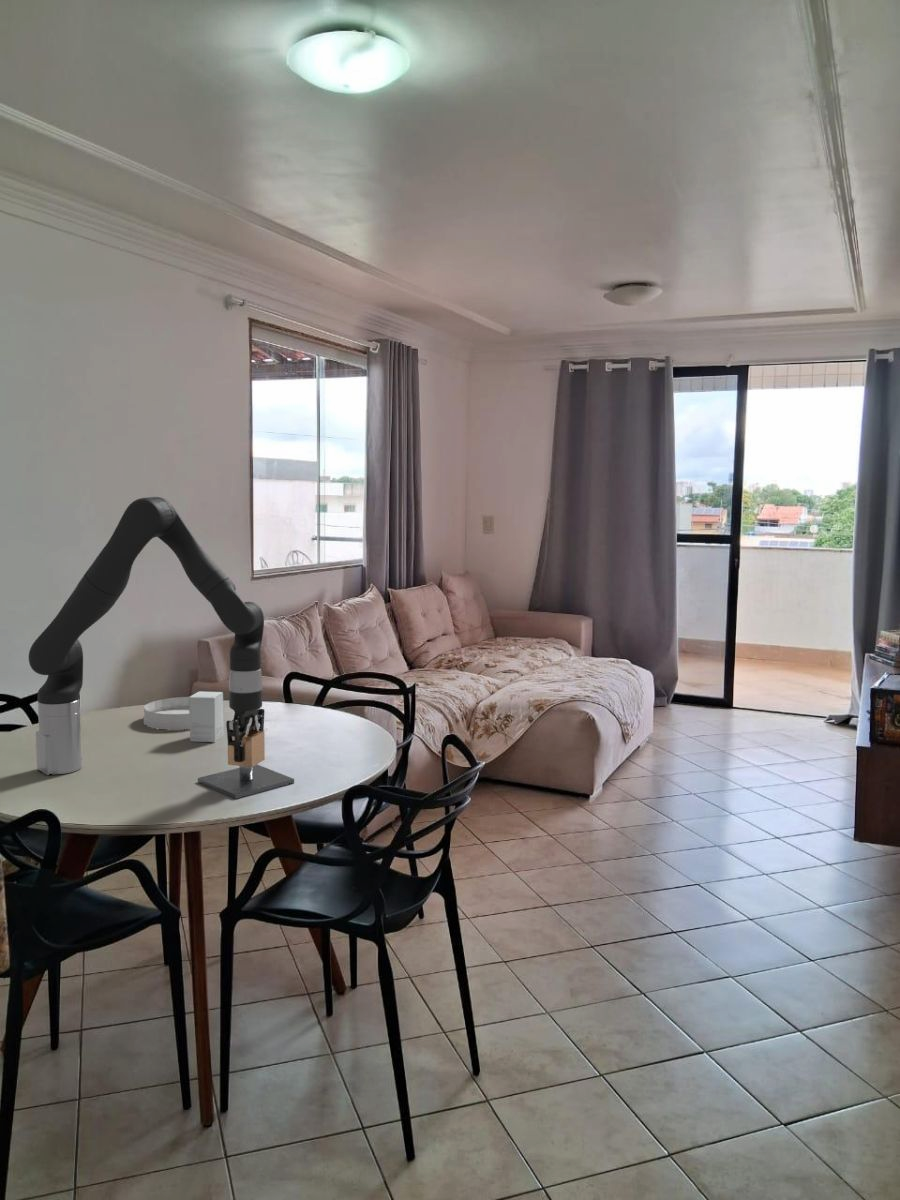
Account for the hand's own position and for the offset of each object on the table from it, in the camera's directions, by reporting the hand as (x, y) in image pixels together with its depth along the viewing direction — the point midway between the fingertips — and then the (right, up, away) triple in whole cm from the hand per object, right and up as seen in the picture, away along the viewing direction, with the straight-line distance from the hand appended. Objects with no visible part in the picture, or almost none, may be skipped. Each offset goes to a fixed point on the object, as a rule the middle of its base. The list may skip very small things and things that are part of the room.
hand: (246, 757), depth 204 cm
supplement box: (-20, -2, +37) cm, 41 cm away
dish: (-32, 0, +55) cm, 64 cm away
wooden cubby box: (0, -1, 0) cm, 1 cm away
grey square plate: (0, -6, +1) cm, 6 cm away
